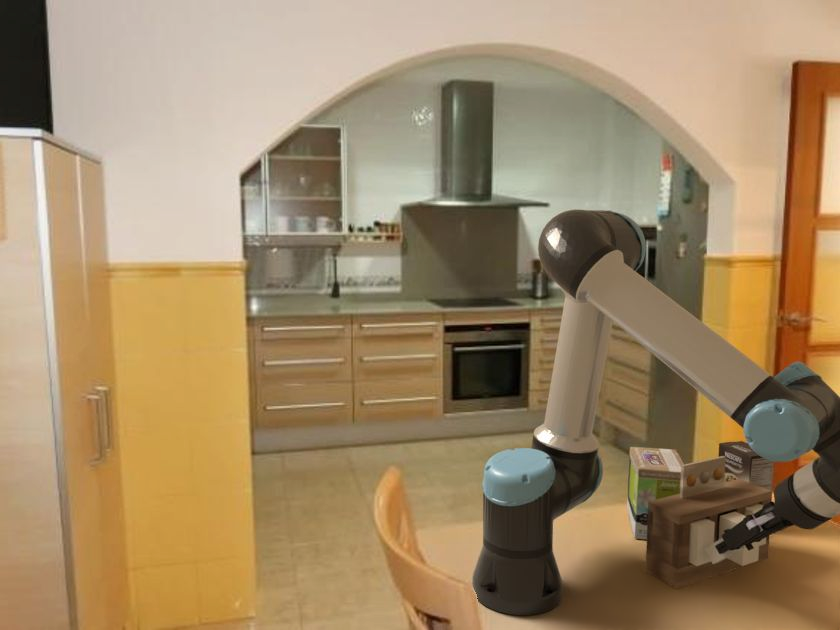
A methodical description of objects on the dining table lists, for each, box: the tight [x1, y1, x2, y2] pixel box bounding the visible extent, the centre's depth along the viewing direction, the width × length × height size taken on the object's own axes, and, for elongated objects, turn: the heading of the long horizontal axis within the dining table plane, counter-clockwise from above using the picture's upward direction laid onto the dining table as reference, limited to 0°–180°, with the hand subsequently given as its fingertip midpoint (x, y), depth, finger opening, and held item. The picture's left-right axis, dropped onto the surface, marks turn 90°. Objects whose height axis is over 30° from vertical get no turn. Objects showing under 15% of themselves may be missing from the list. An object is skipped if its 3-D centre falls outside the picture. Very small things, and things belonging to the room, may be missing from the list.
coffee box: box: [717, 440, 775, 492], centre depth 140 cm, size 9×6×16 cm
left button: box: [688, 518, 715, 566], centre depth 117 cm, size 5×4×7 cm
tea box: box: [626, 446, 686, 541], centre depth 139 cm, size 15×10×15 cm, turn 169°
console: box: [645, 456, 773, 589], centre depth 122 cm, size 7×24×19 cm, turn 117°
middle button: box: [719, 512, 759, 567], centre depth 117 cm, size 5×4×7 cm
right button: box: [729, 503, 766, 546], centre depth 123 cm, size 5×4×7 cm
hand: (711, 555), depth 114 cm, fingers closed
